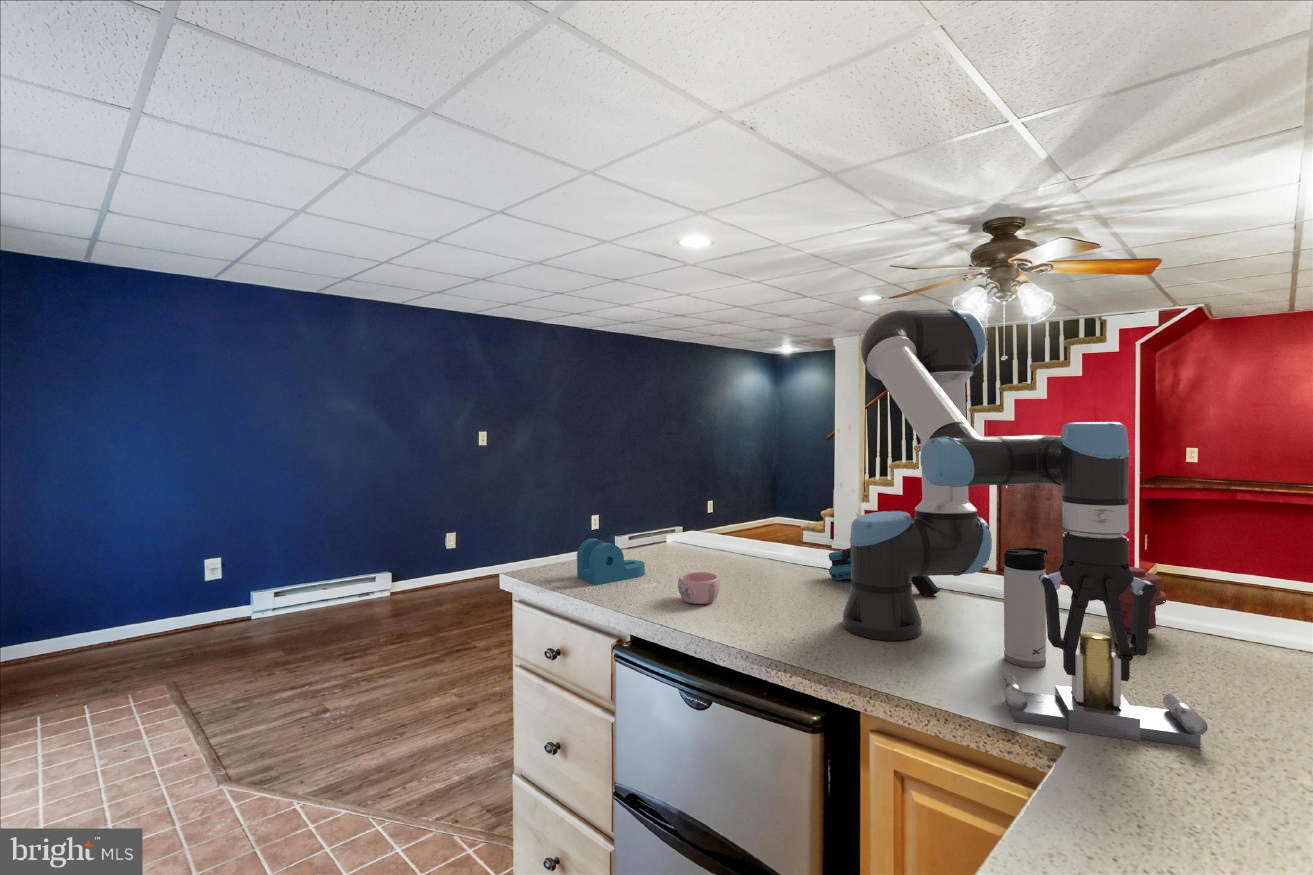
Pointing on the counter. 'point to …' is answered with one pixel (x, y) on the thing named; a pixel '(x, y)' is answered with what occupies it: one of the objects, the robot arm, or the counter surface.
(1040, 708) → the square socket base
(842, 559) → the gun
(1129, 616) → the mechanical component
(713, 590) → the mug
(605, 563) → the camera mount
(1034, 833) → the counter surface
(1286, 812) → the counter surface
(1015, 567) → the travel mug
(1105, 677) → the pin
